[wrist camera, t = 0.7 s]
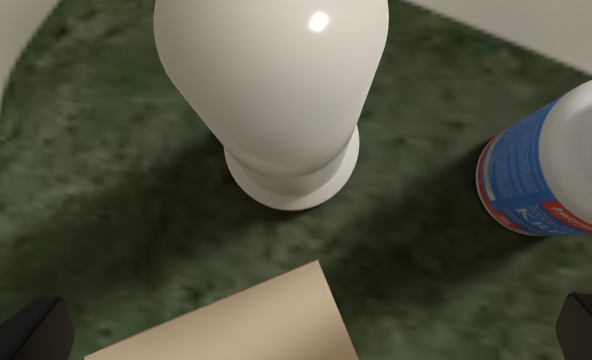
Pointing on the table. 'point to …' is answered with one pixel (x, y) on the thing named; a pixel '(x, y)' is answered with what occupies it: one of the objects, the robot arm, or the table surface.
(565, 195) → the pill bottle
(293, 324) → the oak box
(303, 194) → the white flanged cylinder
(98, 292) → the table surface
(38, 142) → the table surface
